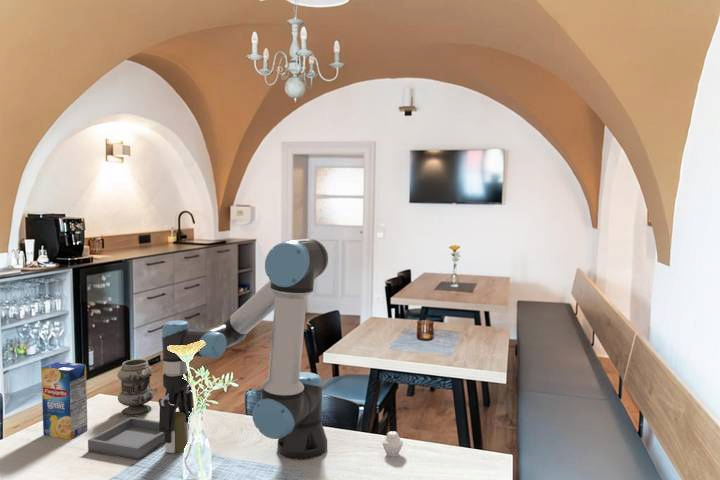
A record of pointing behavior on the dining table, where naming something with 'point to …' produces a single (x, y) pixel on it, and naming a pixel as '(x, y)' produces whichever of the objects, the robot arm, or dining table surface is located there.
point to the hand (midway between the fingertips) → (177, 447)
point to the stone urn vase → (135, 387)
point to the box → (128, 439)
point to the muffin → (392, 443)
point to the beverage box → (64, 399)
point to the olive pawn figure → (179, 432)
